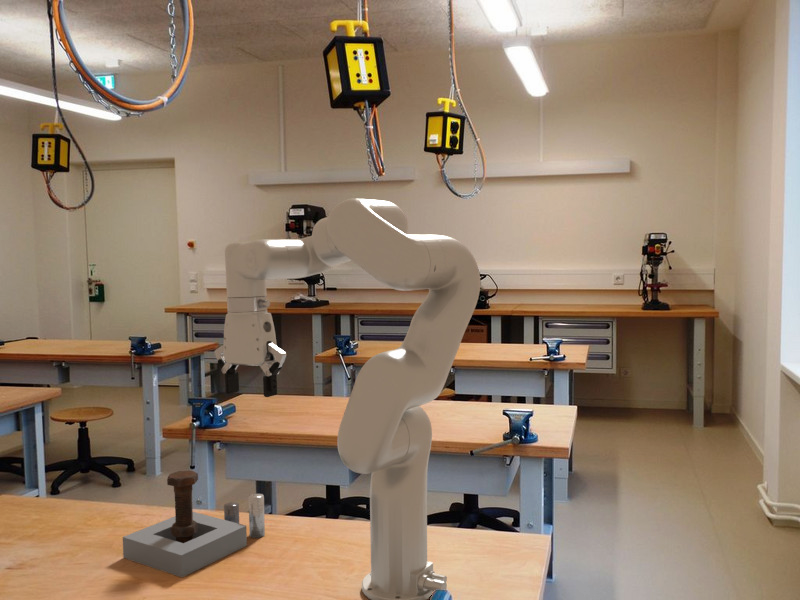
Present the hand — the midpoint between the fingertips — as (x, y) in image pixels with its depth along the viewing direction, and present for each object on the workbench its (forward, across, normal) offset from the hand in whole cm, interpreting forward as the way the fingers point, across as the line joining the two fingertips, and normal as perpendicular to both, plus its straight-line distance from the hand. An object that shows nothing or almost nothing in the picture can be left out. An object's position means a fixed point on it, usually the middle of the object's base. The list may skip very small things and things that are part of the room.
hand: (251, 394), depth 141 cm
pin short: (+29, +10, -3) cm, 31 cm away
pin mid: (+29, +3, -3) cm, 30 cm away
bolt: (+29, +10, +10) cm, 32 cm away
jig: (+29, +9, +10) cm, 32 cm away
